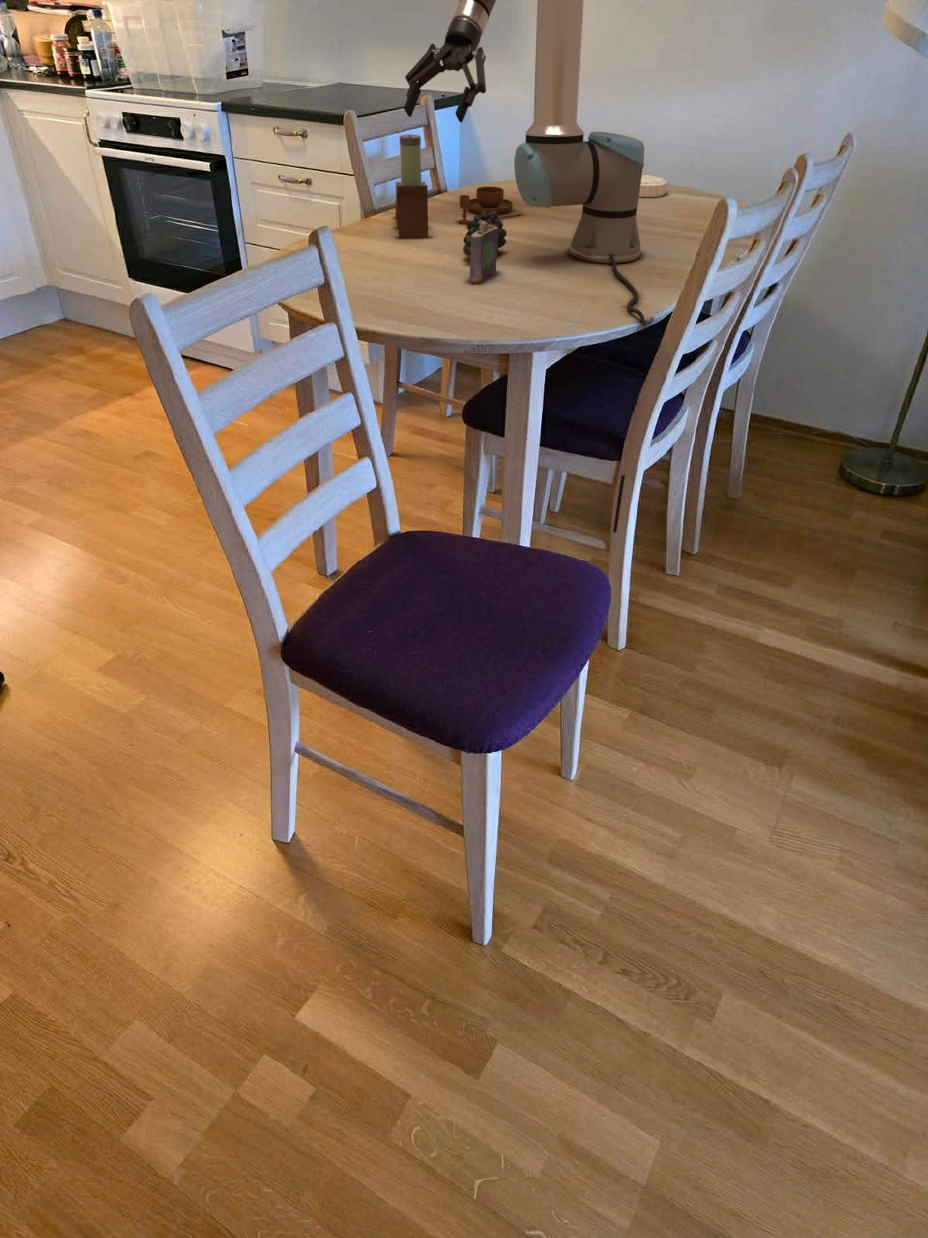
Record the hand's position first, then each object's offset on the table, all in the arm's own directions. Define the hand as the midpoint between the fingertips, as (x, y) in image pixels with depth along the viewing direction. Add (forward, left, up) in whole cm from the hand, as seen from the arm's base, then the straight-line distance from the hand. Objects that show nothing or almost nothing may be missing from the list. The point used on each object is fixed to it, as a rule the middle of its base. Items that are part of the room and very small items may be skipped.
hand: (432, 115), depth 189 cm
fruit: (-28, -8, -23) cm, 37 cm away
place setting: (+11, -12, -23) cm, 28 cm away
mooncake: (+31, -61, -23) cm, 72 cm away
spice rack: (-3, +6, -23) cm, 24 cm away
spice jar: (-8, +6, -13) cm, 16 cm away
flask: (-43, -7, -23) cm, 49 cm away
